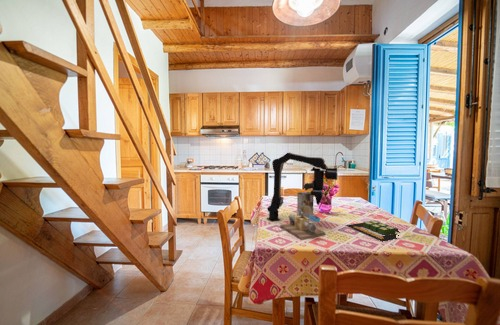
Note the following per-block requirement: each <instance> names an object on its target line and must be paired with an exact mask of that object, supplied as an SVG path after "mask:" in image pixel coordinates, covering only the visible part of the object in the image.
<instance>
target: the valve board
mask: <svg viewBox="0 0 500 325" xmlns="http://www.w3.org/2000/svg"><path fill="white" fill-rule="evenodd" d="M288 220H289V223H284V224H280V225H279V228H281V229H282V230H284V232H285V231H286V232H287V233H288V234H290V235H292V236H294V237H296V238H297V239H299V240H301V241H304V240H307V239H313V238H317V237H323V236H326V232H325V231H323V230H321V229H319V228H317V227H318V226H317V224H316V223H315V222H310V220H309V218H307V217H305V216H303V215H301V216H298V215H297V216H296V214H294V213H290V214H289V216H288Z"/></svg>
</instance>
